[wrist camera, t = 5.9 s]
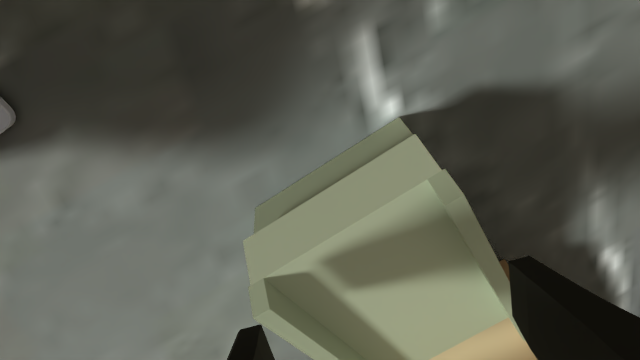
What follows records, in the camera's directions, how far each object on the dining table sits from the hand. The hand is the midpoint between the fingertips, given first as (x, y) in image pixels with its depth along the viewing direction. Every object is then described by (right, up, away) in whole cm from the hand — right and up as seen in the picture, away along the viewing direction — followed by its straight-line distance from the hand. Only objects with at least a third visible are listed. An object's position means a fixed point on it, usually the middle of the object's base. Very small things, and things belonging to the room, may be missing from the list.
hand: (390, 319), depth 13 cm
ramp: (+1, +1, +8) cm, 8 cm away
